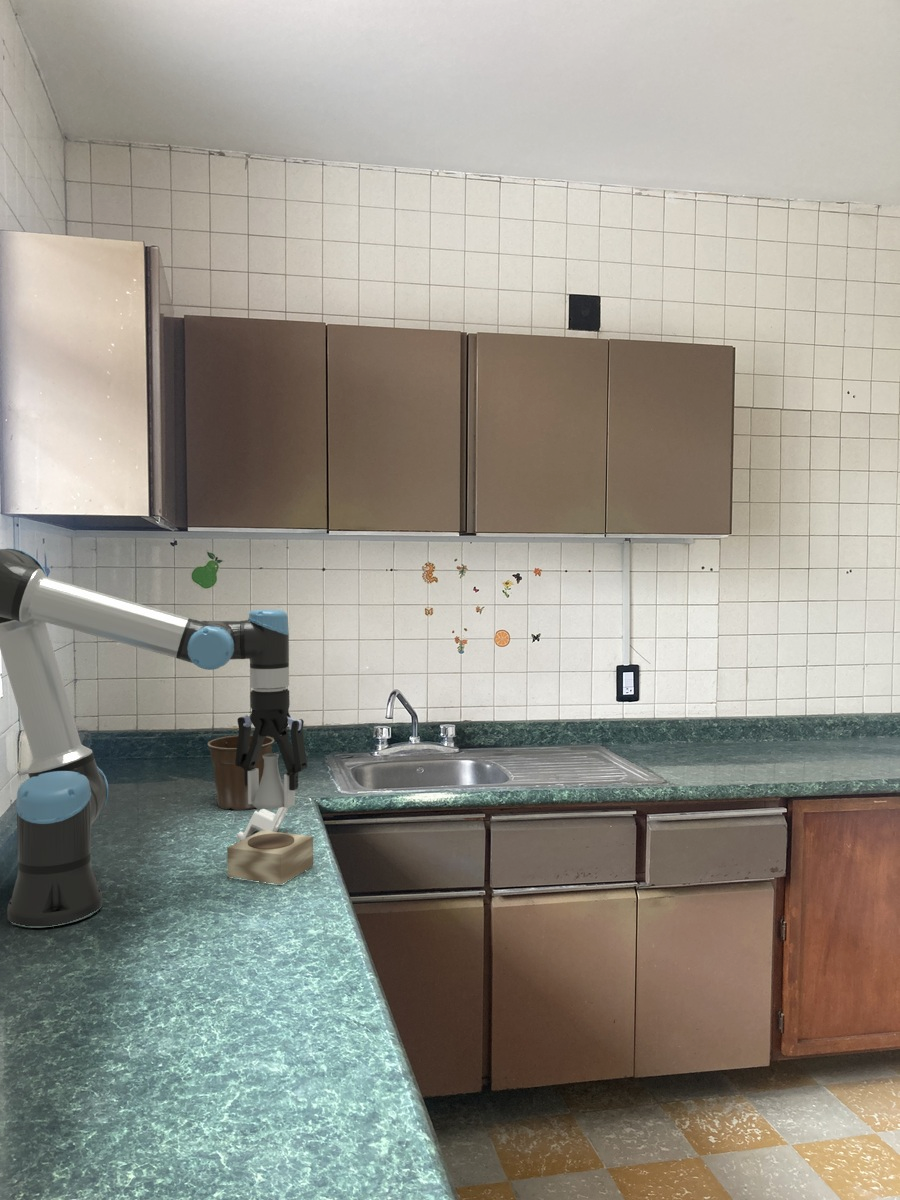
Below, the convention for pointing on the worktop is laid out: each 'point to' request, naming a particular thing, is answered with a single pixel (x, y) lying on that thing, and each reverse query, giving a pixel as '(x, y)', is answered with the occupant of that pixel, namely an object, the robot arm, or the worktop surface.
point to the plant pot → (233, 771)
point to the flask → (270, 785)
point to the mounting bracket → (264, 822)
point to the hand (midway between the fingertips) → (271, 804)
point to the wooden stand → (270, 857)
